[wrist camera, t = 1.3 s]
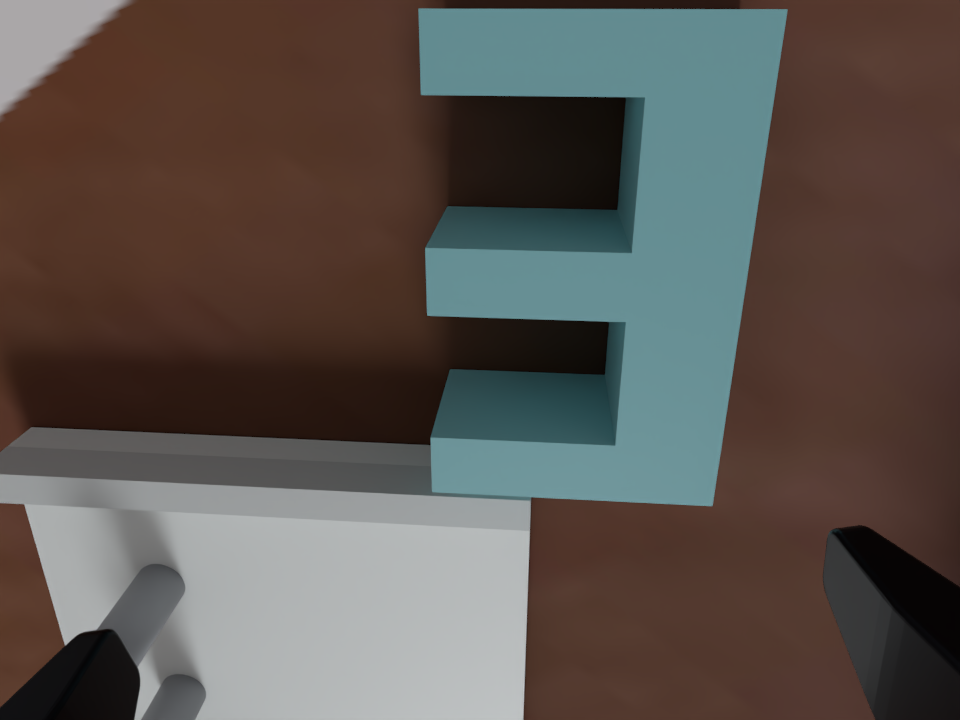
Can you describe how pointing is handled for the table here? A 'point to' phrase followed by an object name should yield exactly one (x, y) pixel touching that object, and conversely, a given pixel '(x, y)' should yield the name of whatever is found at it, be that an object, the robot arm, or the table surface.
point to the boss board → (280, 573)
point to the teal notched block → (607, 250)
